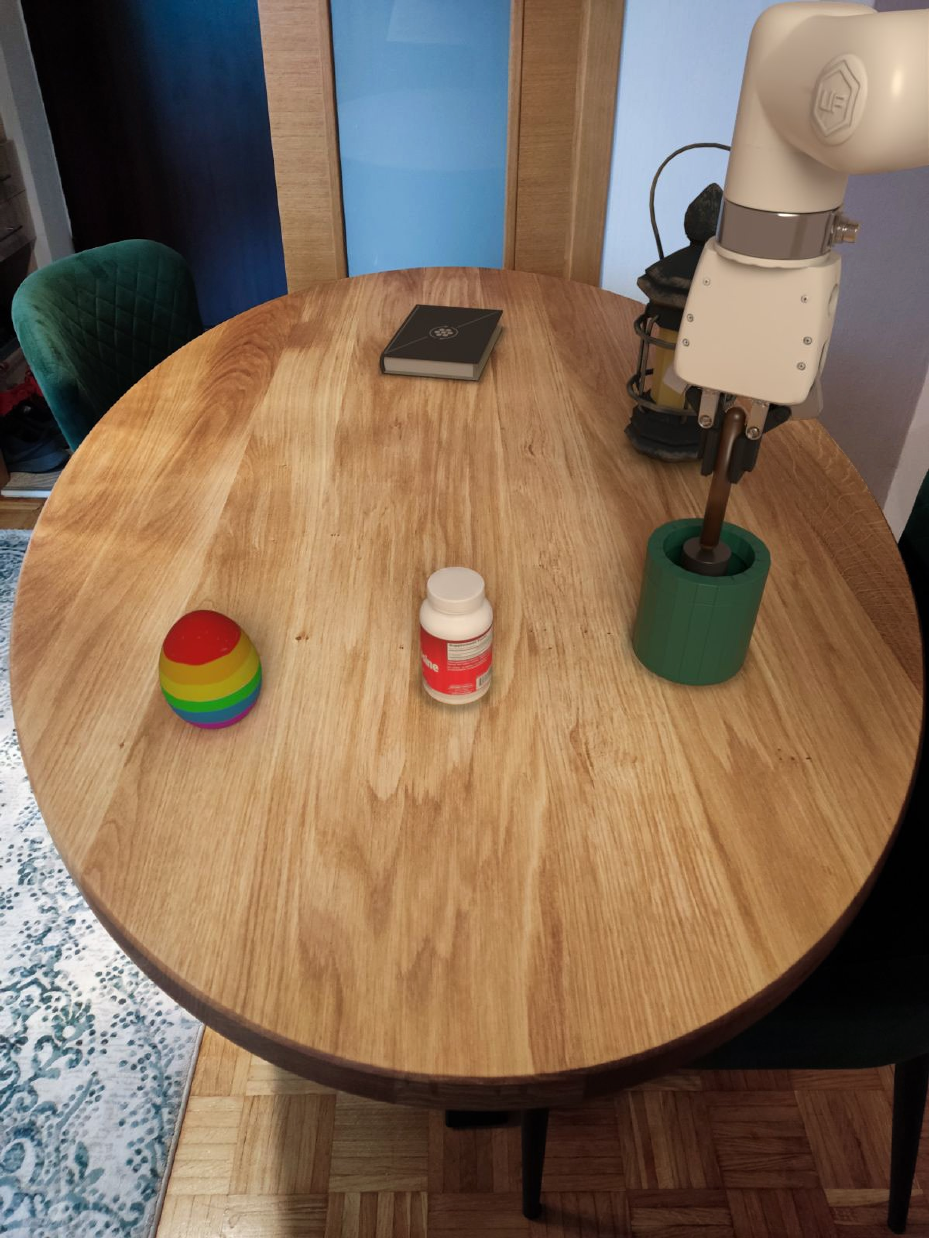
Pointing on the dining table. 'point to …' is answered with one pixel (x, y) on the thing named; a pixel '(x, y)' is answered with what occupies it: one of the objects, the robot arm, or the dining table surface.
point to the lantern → (670, 332)
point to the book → (442, 343)
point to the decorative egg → (209, 670)
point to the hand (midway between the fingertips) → (723, 471)
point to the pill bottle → (456, 636)
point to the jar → (698, 606)
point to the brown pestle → (715, 507)
